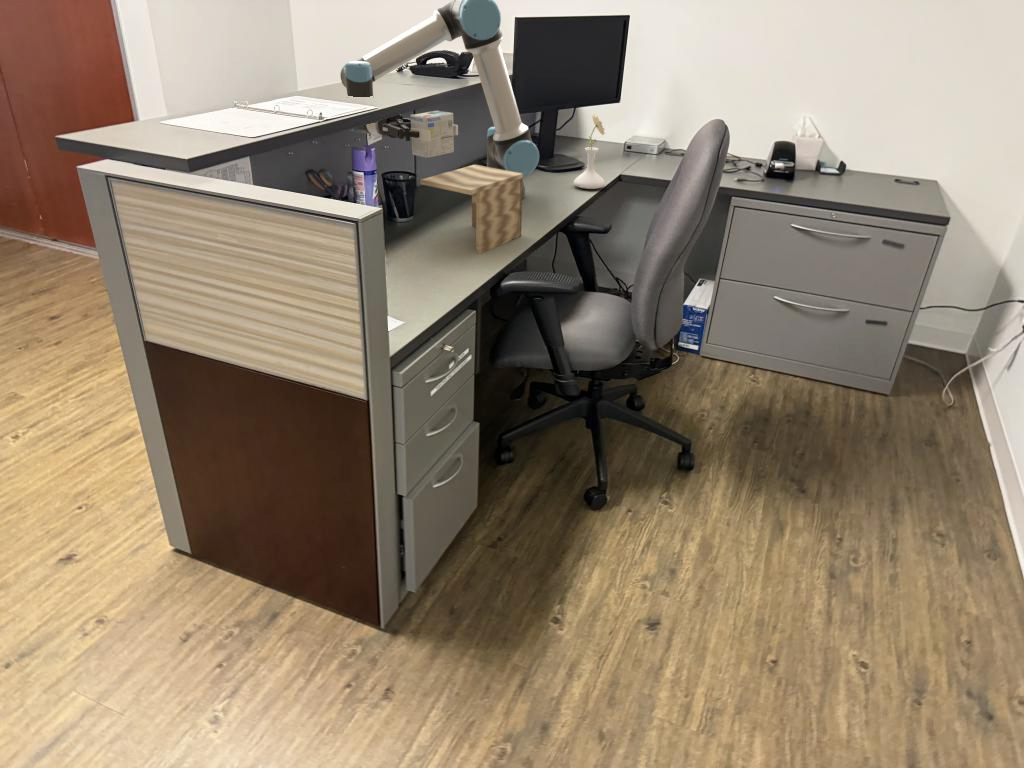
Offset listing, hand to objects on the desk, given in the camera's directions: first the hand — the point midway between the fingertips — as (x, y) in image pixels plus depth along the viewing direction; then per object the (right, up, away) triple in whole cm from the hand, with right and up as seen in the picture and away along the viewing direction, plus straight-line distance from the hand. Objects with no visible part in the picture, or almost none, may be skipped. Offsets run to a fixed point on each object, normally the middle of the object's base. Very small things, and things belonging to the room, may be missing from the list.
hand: (443, 133), depth 206 cm
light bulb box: (-3, -4, +5) cm, 8 cm away
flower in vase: (+47, +3, +68) cm, 82 cm away
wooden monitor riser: (+7, -27, +10) cm, 30 cm away
